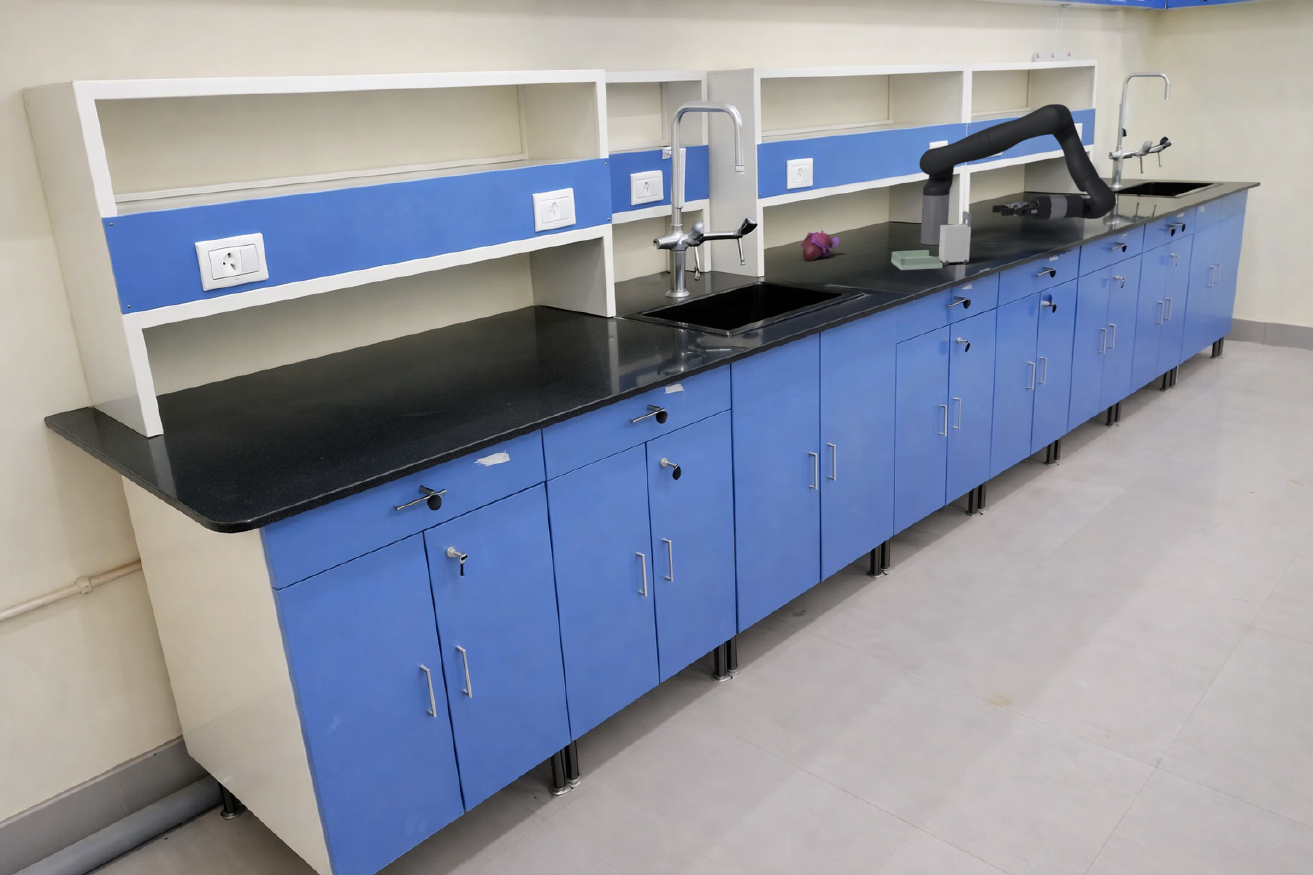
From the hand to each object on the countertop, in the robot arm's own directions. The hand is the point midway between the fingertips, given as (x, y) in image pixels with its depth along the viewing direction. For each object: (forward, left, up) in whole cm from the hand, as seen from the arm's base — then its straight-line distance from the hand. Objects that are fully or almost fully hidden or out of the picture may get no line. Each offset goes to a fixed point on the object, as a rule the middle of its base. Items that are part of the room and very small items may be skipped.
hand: (996, 210), depth 310 cm
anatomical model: (-22, -54, -16) cm, 60 cm away
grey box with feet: (0, -13, -16) cm, 21 cm away
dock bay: (0, -25, -16) cm, 30 cm away
